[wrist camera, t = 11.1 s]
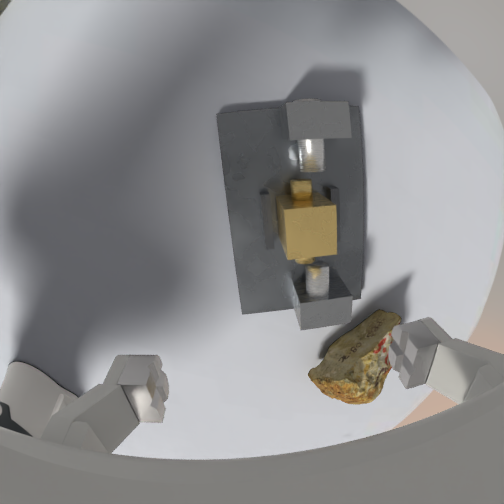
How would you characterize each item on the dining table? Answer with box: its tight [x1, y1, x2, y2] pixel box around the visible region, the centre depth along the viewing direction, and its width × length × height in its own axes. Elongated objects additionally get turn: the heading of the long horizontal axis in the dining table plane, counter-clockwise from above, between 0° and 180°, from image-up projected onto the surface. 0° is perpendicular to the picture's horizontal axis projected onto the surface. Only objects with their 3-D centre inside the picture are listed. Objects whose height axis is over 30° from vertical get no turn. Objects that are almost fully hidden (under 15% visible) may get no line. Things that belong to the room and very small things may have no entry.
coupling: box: [276, 179, 337, 264], centre depth 25 cm, size 7×4×6 cm, turn 6°
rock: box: [308, 309, 401, 404], centre depth 33 cm, size 12×9×10 cm
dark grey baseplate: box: [216, 99, 364, 330], centre depth 26 cm, size 21×13×5 cm, turn 6°
